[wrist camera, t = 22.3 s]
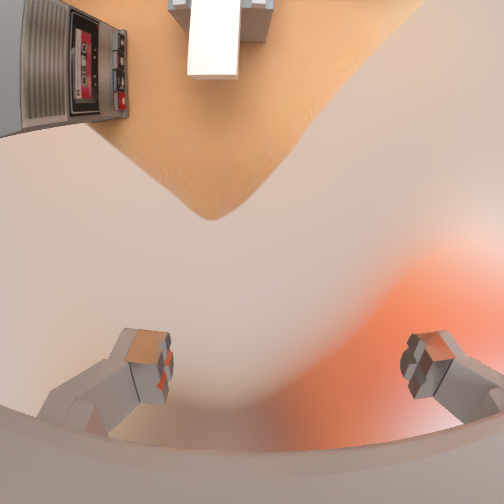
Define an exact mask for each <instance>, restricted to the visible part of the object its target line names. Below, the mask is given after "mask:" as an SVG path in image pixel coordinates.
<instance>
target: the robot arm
mask: <svg viewBox="0 0 504 504" xmlns="http://www.w3.org/2000/svg"><path fill="white" fill-rule="evenodd" d="M407 344H408V347H409V348H407V349H406V350H405V351H404V352H403V354H402V357H401V361H400V368H401V373H402V375H403V377H404V378H405V379H407V380H408V381H409V384H408V388H409V390H410V392H411V394H412V396H413V398H414V399H421V398H427V397H434V399H435V400H437V401H438V402H439V403H440V404H441V405H442V406H444V407H445V408H446V409H447V410H448V411H449V412H451V413H452V414H453V415H454V416H455V417H457V418H458V419H459V420H460V421H461V422H462V423H464V424H463V425H460V426H456V427H453V428H449V429H445V430H441V431H437V432H433V433H429V434H424V435H420V436H415V437H410V438H406V439H400V440H395V441H389V442H383V443H377V444H371V445H363V446H356V447H349V448H348V447H347V448H338V449H329V450H315V451H298V452H225V451H209V450H195V449H185V448H176V447H167V446H159V445H152V444H146V443H139V442H133V441H128V440H122V439H117V438H112V437H109V436H108V433H109V432H110V431H111V430H112V429H113V428H114V427H116V426H117V425H118V424H119V423H120V422H121V421H122V420H123V419H124V418H125V417H126V416H127V415H129V414H130V413H131V412H132V411H133V410H134V409H135V408H136V407H137V406H138V405H139V404H140V403H149V404H160V405H165V404H166V400H167V396H168V391H169V388H168V382H169V381H171V379H172V374H173V365H174V363H173V353H172V352H171V351H170V350H169V349H170V345H171V338H170V334H169V333H168V332H159V331H150V330H141V329H140V330H138V329H131V328H125V329H123V330H122V332H121V334H120V336H119V338H118V340H117V342H116V344H115V346H114V349H113V350H112V353H111V354H110V356H109V359H103V360H102V361H100V362H98V363H97V364H95V365H93V366H92V367H90V368H88V369H87V370H85V371H83V372H82V373H80V374H78V375H77V376H75V377H73V378H72V379H70V380H68V381H67V382H65V383H63V384H62V385H60V386H58V387H57V388H55V389H53V390H51V391H50V393H49V395H48V397H47V398H46V400H45V402H44V404H43V406H42V408H41V410H40V411H39V413H38V415H37V417H33V416H30V415H27V414H24V413H21V412H18V411H15V410H13V409H10V408H7V407H5V406H2V405H0V504H504V375H502V374H501V373H499V372H497V371H495V370H493V369H492V368H490V367H488V366H486V365H485V364H483V363H481V362H479V361H477V360H476V359H474V358H472V357H467V356H466V354H465V353H464V352H463V350H462V349H461V348H460V346H459V345H458V343H457V342H456V340H455V339H454V338H453V336H452V335H451V334H450V332H448V331H446V330H443V331H435V332H428V333H416V334H411V336H410V337H409V339H408V342H407Z"/></svg>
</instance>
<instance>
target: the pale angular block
mask: <svg viewBox="0 0 504 504" xmlns="http://www.w3.org/2000/svg"><path fill="white" fill-rule="evenodd" d="M241 10H242V0H192V4H191V17H190V31H189V47H188V67H187V75H188V76H190V77H191V78H193V79H194V80H211V79H223V80H238V69H239V48H240V28H241Z"/></svg>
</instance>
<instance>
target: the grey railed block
mask: <svg viewBox="0 0 504 504" xmlns="http://www.w3.org/2000/svg"><path fill="white" fill-rule="evenodd" d="M191 4H192V0H169V2H168V11H169V12H170V13H171V15H172V16H173V17H174V18H175V19H176V21H177V22H178V23H179V24H180V25H181V27H182V28H183V29H184V30H185V32H186V33H187V34H188V35H189V31H190V17H191ZM273 5H274V0H242V10H241V28H240V42H263V43H265V41H266V37H267V33H268V29H269V25H270V20H271V16H272V12H273Z"/></svg>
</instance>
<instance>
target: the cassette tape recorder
mask: <svg viewBox="0 0 504 504" xmlns="http://www.w3.org/2000/svg"><path fill="white" fill-rule="evenodd" d="M126 42H127V31H126V30H124V29H123V30H118V29H116V28H114V27H112V26H110V25H108V24H107V23H105V22H103V21H101V20H99V19H97V18H95V17H93V16H91V15H89V14H87V13H85V12H83V11H81V10H79V9H77V8H75V7H73V6H71V5H69V4H67V3H65V2H63V1H60V0H0V138H3V137H7V136H11V135H16V134H21V133H25V132H30V131H35V130H41V129H47V128H52V127H58V126H64V125H71V124H78V123H85V122H91V123H94V122H99V121H105V120H111V119H117V118H124V117H128V98H127V58H126Z"/></svg>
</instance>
